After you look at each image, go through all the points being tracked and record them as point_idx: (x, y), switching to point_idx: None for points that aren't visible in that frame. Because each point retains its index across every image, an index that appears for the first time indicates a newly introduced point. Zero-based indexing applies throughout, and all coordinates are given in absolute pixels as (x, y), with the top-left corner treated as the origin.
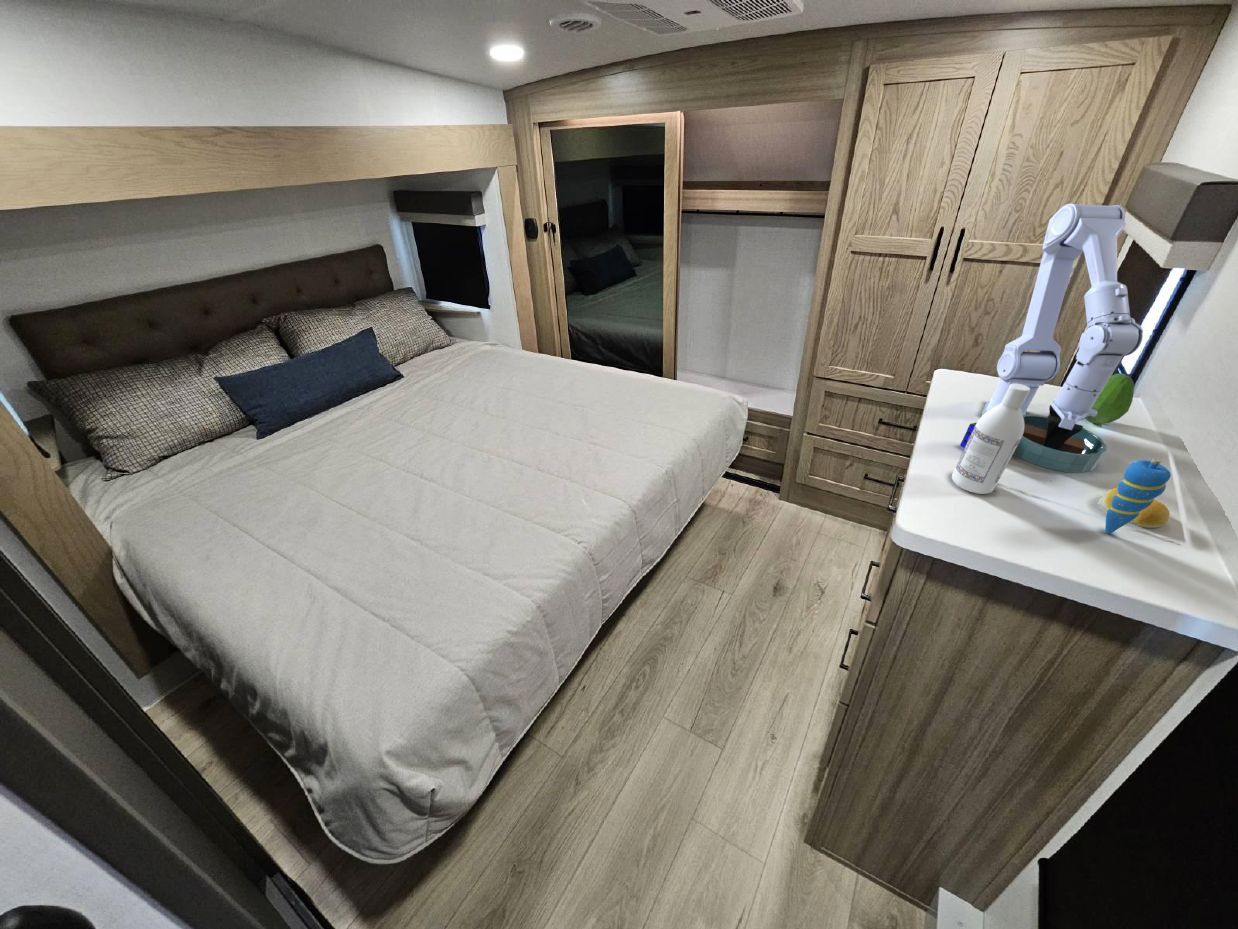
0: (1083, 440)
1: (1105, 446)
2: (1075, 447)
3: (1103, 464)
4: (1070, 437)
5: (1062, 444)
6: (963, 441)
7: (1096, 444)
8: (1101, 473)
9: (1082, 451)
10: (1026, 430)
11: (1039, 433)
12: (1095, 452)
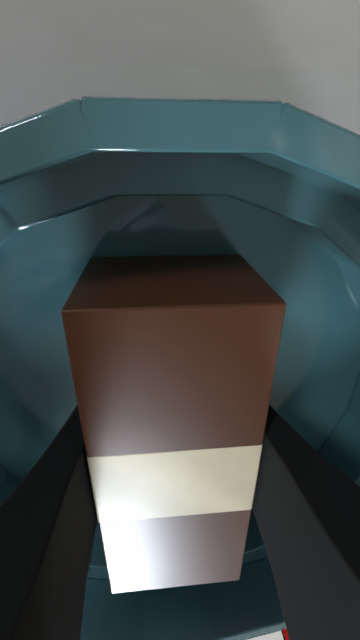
0: (71, 321)
1: (151, 109)
2: (275, 357)
3: (52, 43)
4: (104, 411)
5: (300, 436)
6: None
7: (6, 186)
8: (246, 67)
9: (275, 293)
10: (205, 579)
11: (201, 540)
12: (116, 166)
